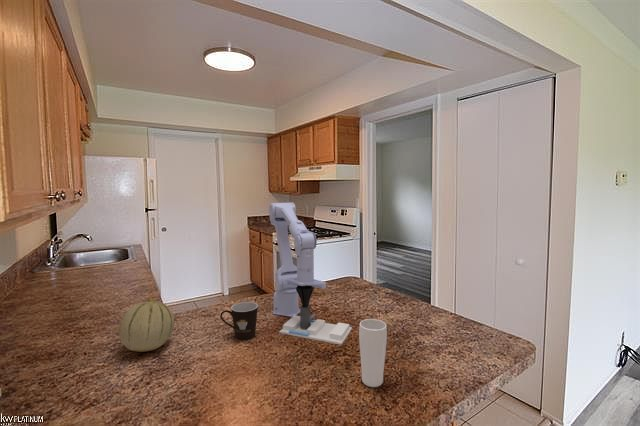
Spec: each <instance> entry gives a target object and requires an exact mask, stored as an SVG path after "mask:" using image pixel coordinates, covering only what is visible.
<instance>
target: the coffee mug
mask: <svg viewBox="0 0 640 426" xmlns="http://www.w3.org/2000/svg"><path fill="white" fill-rule="evenodd" d="M258 309H259V304H257V303H256V302H253V301H243V302H238V303H236V304H235V303H234V304H233V305H232V306H231V307H230V310H228V309H225V310H222V312H220V314H219V315H220V317H219V318H220V320H221V321H222V322H223V323H225V324H226V325H227V326H229V327H231V328H232V329H233V331H234V337H235V339H236V341H240V342H244V341H250V340H252V339H254V338H255V337H256V331H257V330H256V329H257V318H258ZM224 313H228V314H229V315H230V316H231V317H232V322H233V323H232V324H231V323H229V322H228V321H227V320H225V319H224V318H223V315H224Z"/></svg>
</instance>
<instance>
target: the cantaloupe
mask: <svg viewBox="0 0 640 426" xmlns="http://www.w3.org/2000/svg"><path fill="white" fill-rule="evenodd" d="M174 327H175V316H174V313H173V311H172V309H170V307H169V306H168V305H166V304H164V303H163V302H161V301H154V300H153V299H152V298H151V297H148V301H143V302H139V303H136V304H134V305H132V306H131V307H130V308H129V309H127V310H126V312H125V313H124V314H123V316H122V317H121V319H120V322H119V325H118V336H119V337H118V338H119V340H120V342H121V344H123V346H124V347H125V348H126V349H127V350H129V351H131V352H132V351H133V352H139V353H146V352H149V351H150V352H151V351H154V350H157V349H158V348H160V347H162V346H163V345H165V343H166V342H167V341H168V340H169V339H170V337H171V336H172V335H173V332H174Z"/></svg>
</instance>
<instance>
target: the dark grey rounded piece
mask: <svg viewBox="0 0 640 426" xmlns="http://www.w3.org/2000/svg"><path fill="white" fill-rule="evenodd" d="M299 308H300V313H299V316H300V328H301V329H303V330H307V329H308V328H309V327H310V326H311V319H313V318H315V317H316V313H313V314H311V305H310V304H309V306H308V307H306V308H305V307H303V306H302V304H301V305H299Z"/></svg>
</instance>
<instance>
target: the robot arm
mask: <svg viewBox="0 0 640 426" xmlns="http://www.w3.org/2000/svg"><path fill="white" fill-rule="evenodd" d="M296 213H297V207H296V204H295V203H294V202H293V201H291V202H271V203H270V204H269V207H268V214H269V221H270V225H271V226H273V227H274V229H275V233H276V234H275V235H276V239H277V240H276V241H277V246H278V253H279V260H280V267H279V268H278V269H277V270H276V271H275V275H274V276H275V278H274V279H275V287H276V290H275V291H274V293H273V298H272V299H273V302H272V303H273V312H272V315H276V316H278V315H279V316H284V317H289V318H292V317H293V316H294V315H296V316H298V314H299V315H300V305H299V299H300V302H301V305H302V306H303V307H305V308H306V307H308V306H309V305H310V300H311V297H312V294H313V292H314V290H315V288H317V289H322V290H325V289H326V288H327V281H324V280H323V281H321V280H319V279H314V277H315V276H314V275H315V273H314V266H315V265H314V263H315V262H314V261H315V260H314V257H315V255H314V250H315V249H316V247H317V241H318V240H317V237H316V234H315V232H313V231H309V229H307V226H306V224H304V221H302V220H299V219H298V216H297V215H296ZM289 233H290V234H291V237H292V238H293V244H294V250H295V252H294V253H295V255H296V265H295V264H294V262H293V256H292V255H293V254H292V248H291V242H290V241H291V240H290V235H289Z"/></svg>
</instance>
